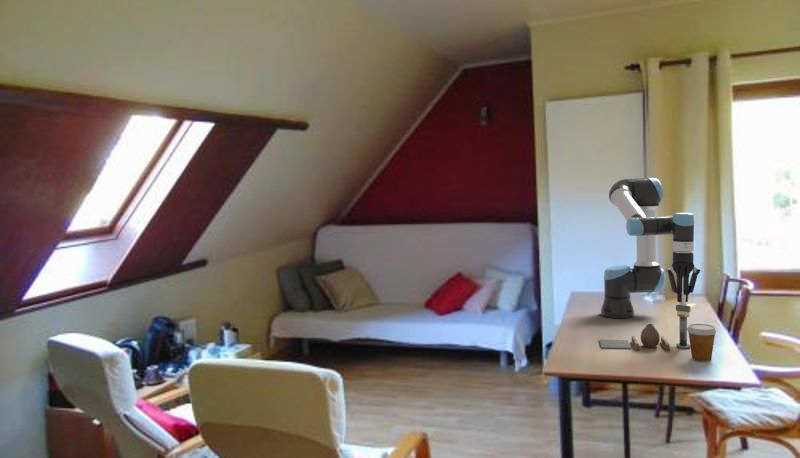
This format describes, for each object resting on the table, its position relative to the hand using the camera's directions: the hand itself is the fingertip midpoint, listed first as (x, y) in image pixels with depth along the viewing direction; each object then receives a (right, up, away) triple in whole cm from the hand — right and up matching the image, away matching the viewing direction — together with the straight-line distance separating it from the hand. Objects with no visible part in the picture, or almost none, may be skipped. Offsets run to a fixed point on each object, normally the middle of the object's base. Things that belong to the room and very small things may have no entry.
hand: (682, 310), depth 245 cm
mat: (-28, -14, -2) cm, 31 cm away
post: (-4, -13, -9) cm, 16 cm away
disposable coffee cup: (-4, -15, -24) cm, 28 cm away
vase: (-15, -14, -6) cm, 21 cm away
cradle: (-15, -13, -6) cm, 21 cm away
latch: (0, 0, -4) cm, 4 cm away
